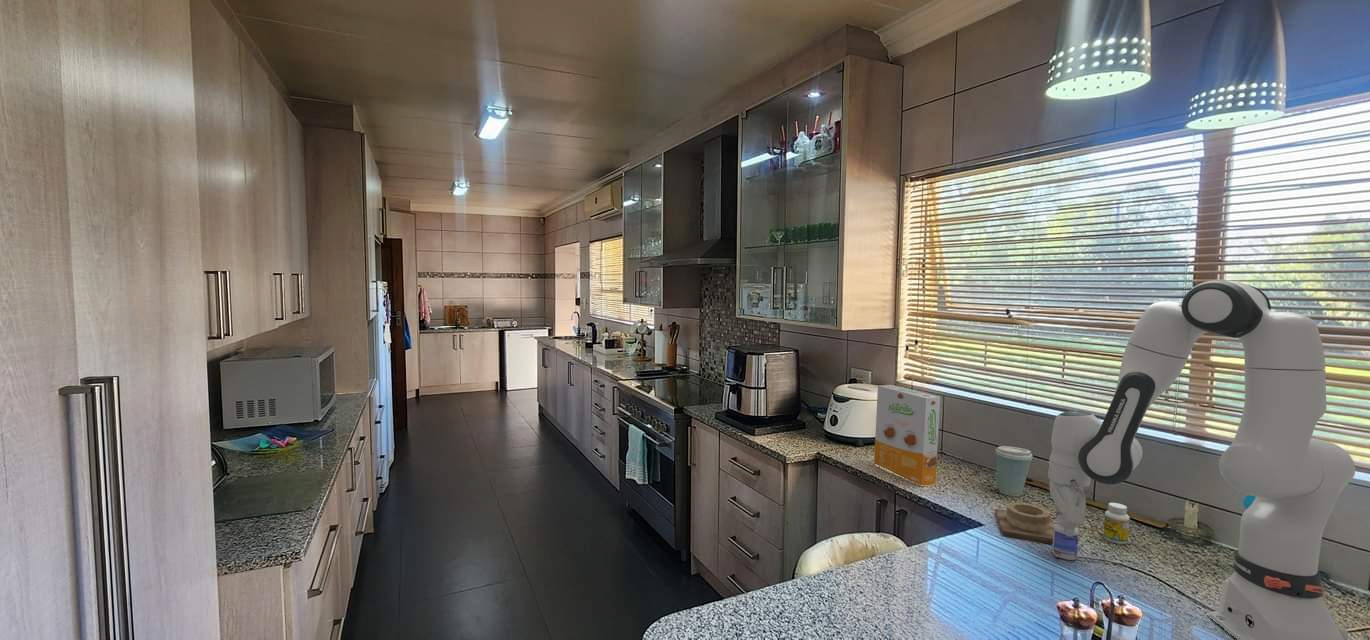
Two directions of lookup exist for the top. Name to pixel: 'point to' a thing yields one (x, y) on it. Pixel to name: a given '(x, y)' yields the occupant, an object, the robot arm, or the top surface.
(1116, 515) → the supplement bottle
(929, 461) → the cereal box
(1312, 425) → the robot arm
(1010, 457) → the disposable coffee cup
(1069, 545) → the pill bottle
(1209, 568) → the top surface
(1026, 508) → the tan wooden ringed block
